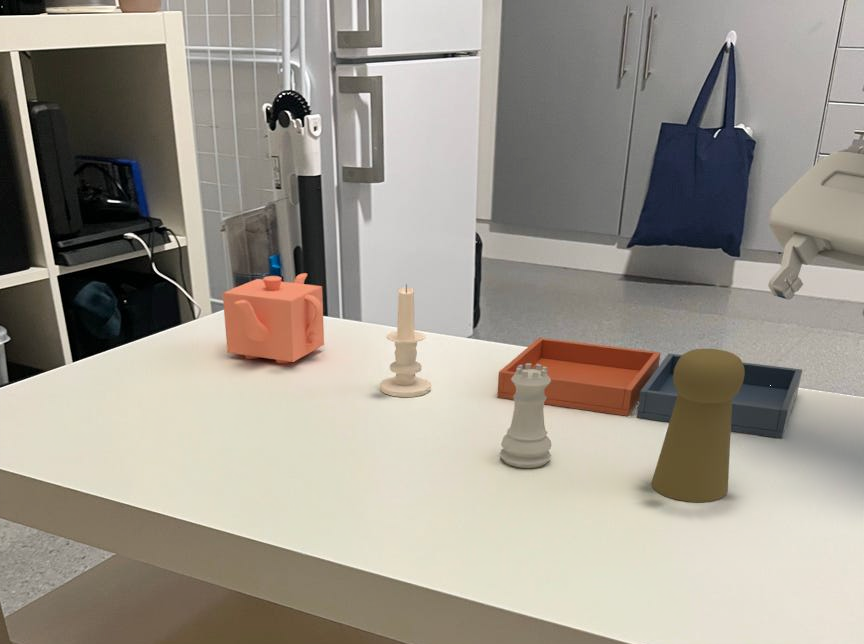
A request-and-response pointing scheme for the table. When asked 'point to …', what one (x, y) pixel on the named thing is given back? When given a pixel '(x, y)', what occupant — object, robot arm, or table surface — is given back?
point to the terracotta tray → (585, 374)
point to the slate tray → (751, 406)
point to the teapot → (274, 319)
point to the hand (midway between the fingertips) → (822, 306)
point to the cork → (699, 427)
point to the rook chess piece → (528, 420)
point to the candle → (405, 352)
